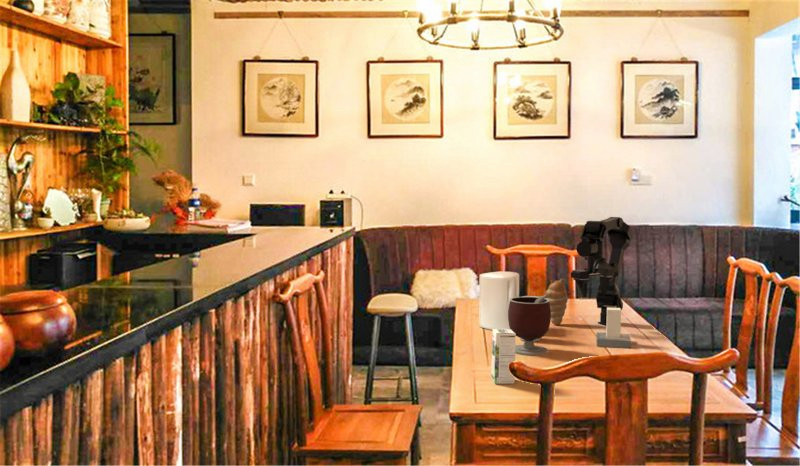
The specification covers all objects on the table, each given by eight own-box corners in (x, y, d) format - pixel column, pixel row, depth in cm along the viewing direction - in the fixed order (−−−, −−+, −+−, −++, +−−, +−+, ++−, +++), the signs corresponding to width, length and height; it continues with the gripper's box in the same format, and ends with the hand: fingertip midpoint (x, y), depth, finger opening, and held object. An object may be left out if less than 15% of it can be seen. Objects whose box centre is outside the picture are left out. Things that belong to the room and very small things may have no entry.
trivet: (596, 339, 258) (596, 331, 258) (628, 341, 255) (629, 333, 255) (596, 346, 247) (596, 338, 247) (630, 348, 244) (630, 340, 244)
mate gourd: (499, 349, 244) (499, 289, 242) (531, 344, 250) (532, 286, 249) (529, 359, 230) (529, 296, 229) (562, 353, 237) (563, 293, 235)
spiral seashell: (560, 322, 288) (561, 277, 287) (571, 325, 281) (572, 279, 279) (541, 323, 285) (541, 278, 284) (551, 327, 278) (552, 280, 276)
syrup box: (490, 378, 208) (491, 328, 207) (510, 378, 208) (511, 328, 207) (494, 384, 202) (495, 333, 201) (515, 384, 203) (516, 332, 202)
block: (606, 334, 254) (606, 307, 253) (619, 335, 253) (620, 308, 252) (606, 337, 249) (607, 309, 249) (620, 337, 248) (621, 310, 247)
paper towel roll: (515, 324, 283) (515, 268, 281) (530, 332, 269) (531, 273, 268) (478, 326, 280) (478, 269, 278) (491, 334, 266) (492, 274, 264)
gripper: (591, 258, 258) (590, 301, 260) (629, 255, 267) (628, 297, 268) (570, 255, 268) (569, 297, 269) (607, 252, 277) (606, 293, 278)
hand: (594, 296), depth 271 cm, fingers open, 9 cm apart
